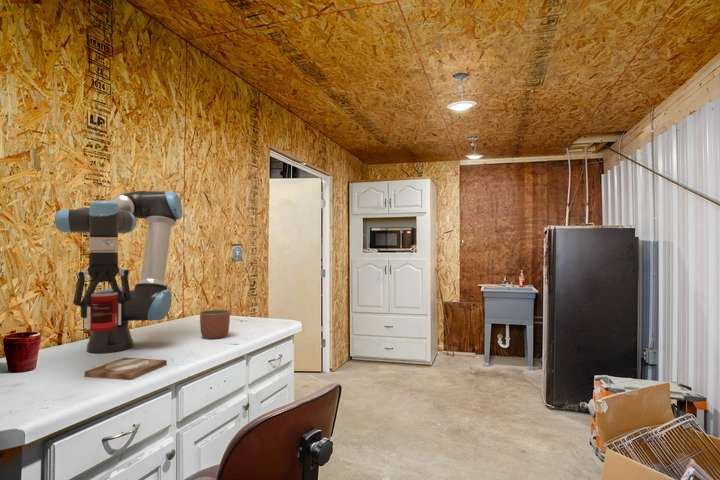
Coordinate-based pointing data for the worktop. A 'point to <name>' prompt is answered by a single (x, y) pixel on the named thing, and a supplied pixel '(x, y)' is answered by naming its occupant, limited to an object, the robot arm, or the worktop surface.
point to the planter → (214, 323)
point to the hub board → (126, 368)
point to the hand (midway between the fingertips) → (102, 326)
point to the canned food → (103, 310)
